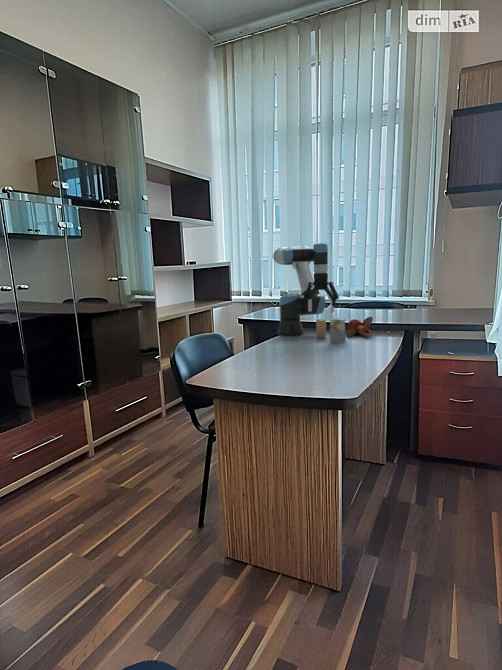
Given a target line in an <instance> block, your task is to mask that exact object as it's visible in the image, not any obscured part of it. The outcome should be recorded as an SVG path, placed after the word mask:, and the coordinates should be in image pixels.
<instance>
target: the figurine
mask: <svg viewBox="0 0 502 670" xmlns="http://www.w3.org/2000/svg"><path fill="white" fill-rule="evenodd" d="M372 323H373V316H368V317H366V318H365V319H363V320H362V321H361V320H359V319H355V318H354V319H351V320H349V321H348V323H347V330H346V336H345V337H352V336H355V335H360V336H364V337H363V338H366V337H368V336H369V335H370V334H373V332H372V329H369V328H368V327H370V326H371V324H372Z"/></svg>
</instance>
